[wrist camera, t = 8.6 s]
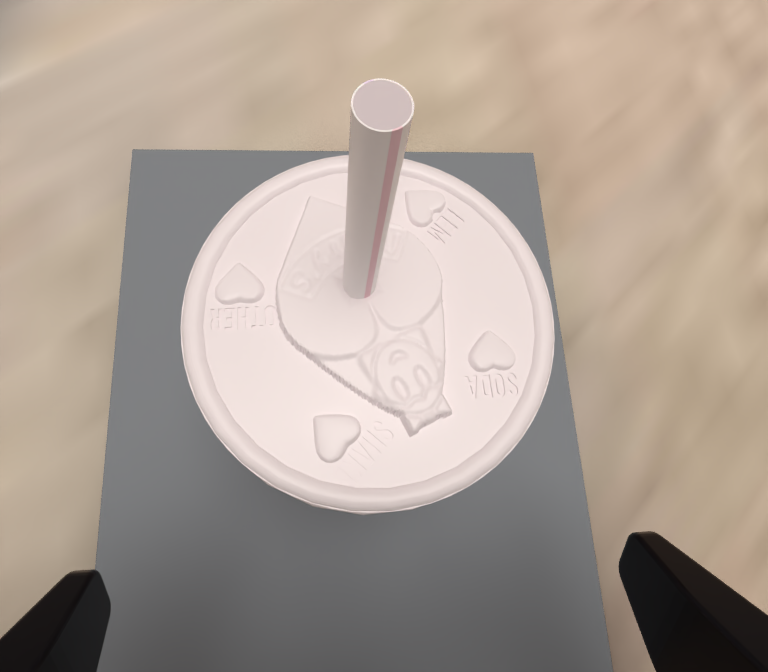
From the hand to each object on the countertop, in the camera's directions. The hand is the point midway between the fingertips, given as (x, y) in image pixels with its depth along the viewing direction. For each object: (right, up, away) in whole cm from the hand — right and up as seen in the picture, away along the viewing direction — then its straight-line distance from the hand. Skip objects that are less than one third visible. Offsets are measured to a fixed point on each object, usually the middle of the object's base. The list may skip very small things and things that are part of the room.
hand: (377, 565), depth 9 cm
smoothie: (-1, +2, +9) cm, 9 cm away
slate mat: (-1, +2, +10) cm, 10 cm away
